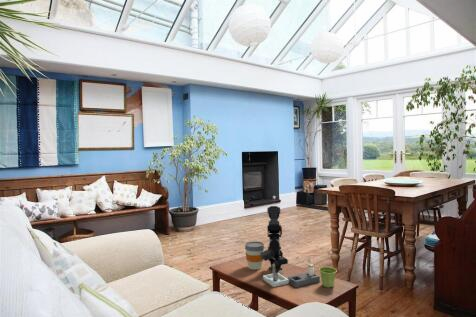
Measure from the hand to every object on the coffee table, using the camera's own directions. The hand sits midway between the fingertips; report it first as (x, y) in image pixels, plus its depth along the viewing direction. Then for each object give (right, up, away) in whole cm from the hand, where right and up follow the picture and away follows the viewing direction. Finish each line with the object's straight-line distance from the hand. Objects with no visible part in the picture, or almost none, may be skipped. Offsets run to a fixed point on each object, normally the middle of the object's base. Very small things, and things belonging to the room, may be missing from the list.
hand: (275, 271), depth 179 cm
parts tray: (0, -6, 0) cm, 6 cm away
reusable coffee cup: (-10, -6, +24) cm, 27 cm away
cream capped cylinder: (0, -5, 0) cm, 5 cm away
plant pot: (+28, -5, -7) cm, 30 cm away
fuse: (+21, -5, 0) cm, 21 cm away
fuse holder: (+16, -5, -2) cm, 17 cm away
